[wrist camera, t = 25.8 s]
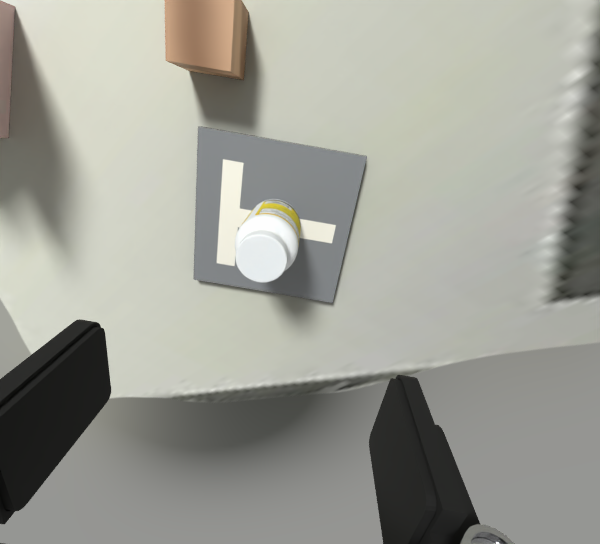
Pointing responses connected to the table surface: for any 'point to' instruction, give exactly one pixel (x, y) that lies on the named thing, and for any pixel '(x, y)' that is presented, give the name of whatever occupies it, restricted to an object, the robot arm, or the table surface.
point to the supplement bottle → (268, 241)
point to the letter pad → (274, 185)
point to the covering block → (207, 36)
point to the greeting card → (6, 64)
